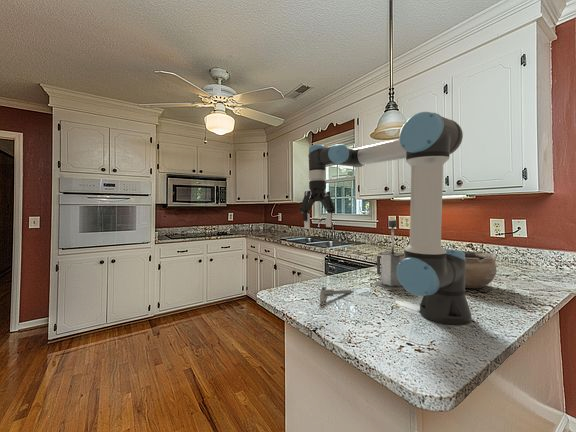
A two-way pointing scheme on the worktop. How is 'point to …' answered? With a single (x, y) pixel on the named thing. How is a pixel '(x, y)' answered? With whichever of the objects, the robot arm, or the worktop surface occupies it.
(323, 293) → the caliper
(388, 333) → the worktop surface
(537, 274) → the worktop surface
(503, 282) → the worktop surface
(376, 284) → the trivet
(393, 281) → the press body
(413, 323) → the worktop surface
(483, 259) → the ceramic bowl
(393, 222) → the plunger
